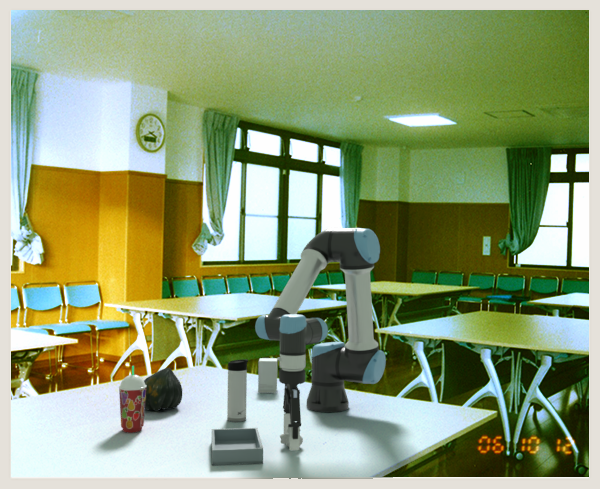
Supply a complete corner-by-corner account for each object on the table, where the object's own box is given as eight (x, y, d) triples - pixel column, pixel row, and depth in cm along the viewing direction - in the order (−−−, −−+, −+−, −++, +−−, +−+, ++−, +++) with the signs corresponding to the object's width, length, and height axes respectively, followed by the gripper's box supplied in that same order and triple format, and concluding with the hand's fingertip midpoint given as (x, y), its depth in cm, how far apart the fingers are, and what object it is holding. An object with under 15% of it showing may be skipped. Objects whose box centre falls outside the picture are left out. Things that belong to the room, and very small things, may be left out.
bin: (257, 441, 191) (257, 427, 191) (263, 463, 172) (263, 448, 172) (211, 442, 189) (211, 429, 189) (212, 465, 170) (212, 450, 170)
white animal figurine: (303, 450, 184) (303, 422, 184) (280, 450, 183) (280, 422, 183) (302, 444, 189) (302, 417, 189) (279, 444, 189) (279, 417, 189)
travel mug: (244, 422, 211) (244, 361, 211) (224, 421, 212) (225, 360, 212) (249, 417, 217) (250, 358, 217) (230, 416, 218) (231, 357, 218)
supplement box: (276, 393, 253) (276, 361, 253) (257, 393, 253) (258, 361, 253) (277, 389, 260) (277, 357, 260) (259, 389, 260) (259, 357, 260)
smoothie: (151, 428, 204) (152, 364, 204) (136, 435, 196) (137, 369, 196) (128, 425, 206) (129, 362, 206) (112, 432, 198) (113, 367, 198)
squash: (124, 394, 225) (149, 364, 221) (150, 387, 238) (174, 359, 235) (149, 425, 220) (175, 395, 217) (173, 416, 234) (198, 388, 231)
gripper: (274, 361, 198) (273, 430, 198) (284, 377, 173) (283, 456, 173) (298, 360, 199) (297, 429, 199) (312, 377, 174) (311, 456, 174)
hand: (291, 442), depth 186 cm, fingers open, 13 cm apart
